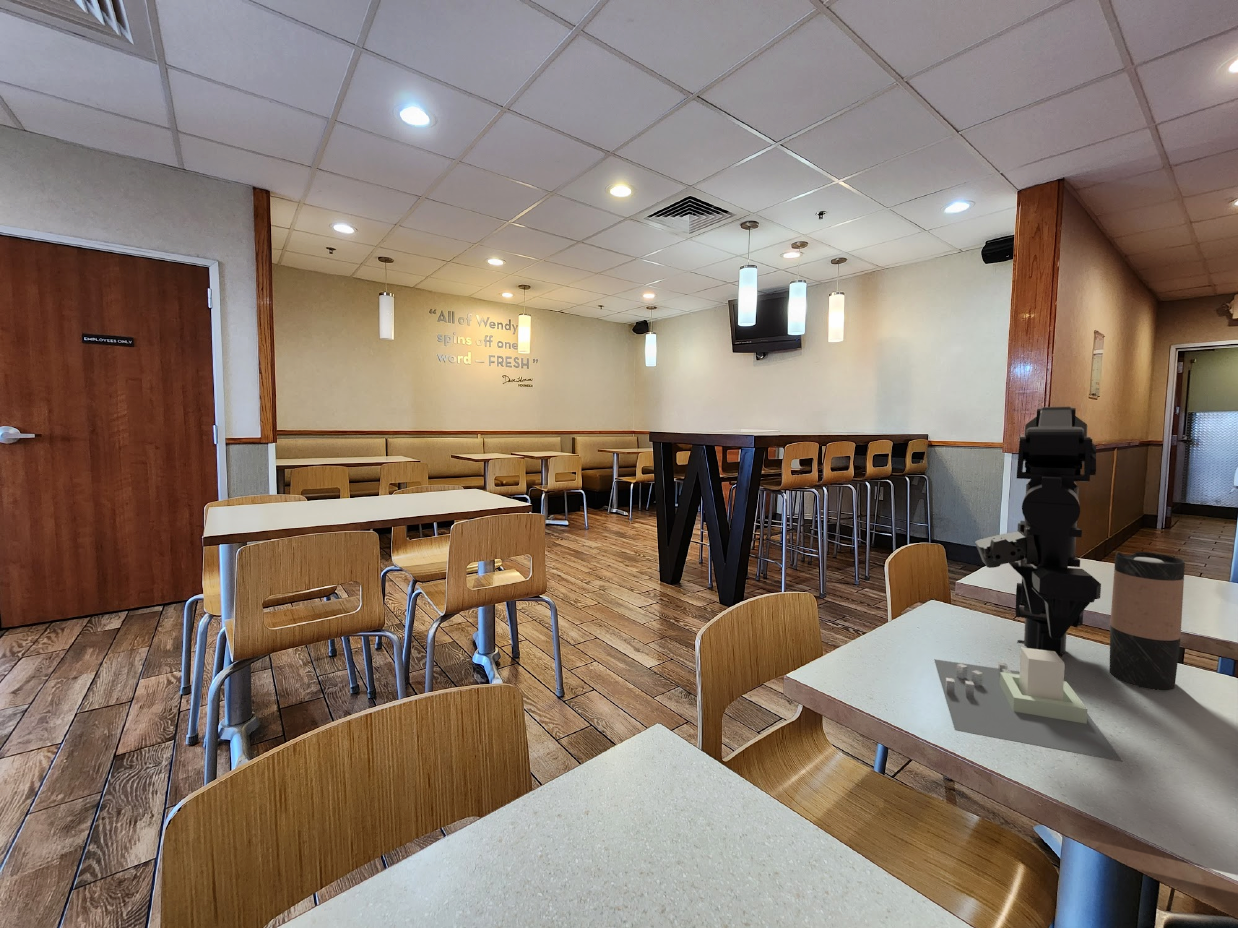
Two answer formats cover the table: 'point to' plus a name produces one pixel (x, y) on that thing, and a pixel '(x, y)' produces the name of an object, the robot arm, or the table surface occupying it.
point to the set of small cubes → (976, 679)
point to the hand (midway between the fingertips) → (1044, 625)
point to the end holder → (1043, 701)
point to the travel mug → (1146, 619)
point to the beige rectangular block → (1041, 674)
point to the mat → (1015, 717)
